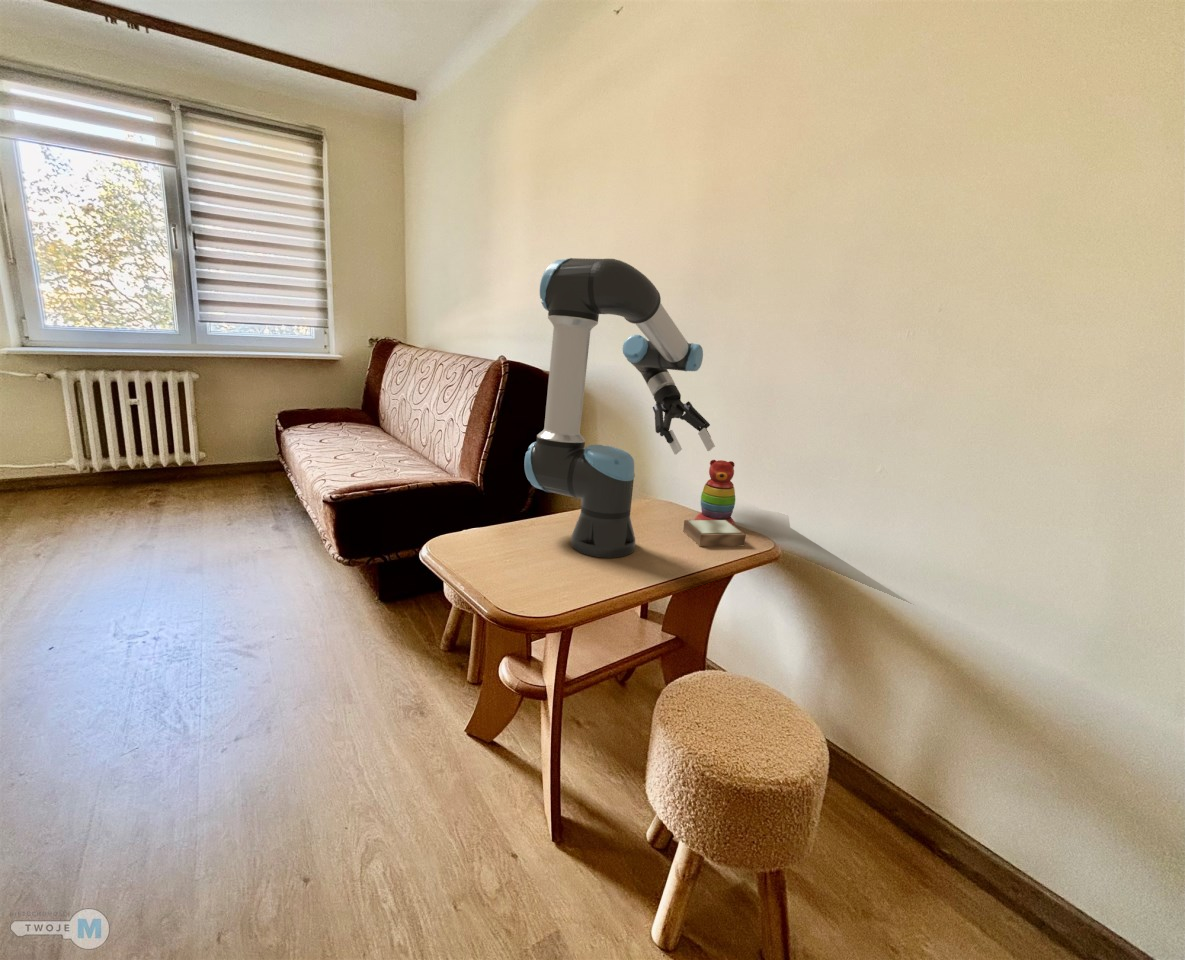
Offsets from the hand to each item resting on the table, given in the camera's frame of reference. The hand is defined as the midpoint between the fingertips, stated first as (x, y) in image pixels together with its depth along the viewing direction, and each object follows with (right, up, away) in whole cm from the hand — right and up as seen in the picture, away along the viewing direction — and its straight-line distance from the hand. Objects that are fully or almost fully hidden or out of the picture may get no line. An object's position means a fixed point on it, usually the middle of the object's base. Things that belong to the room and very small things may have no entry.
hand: (695, 450), depth 157 cm
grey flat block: (+1, -23, -16) cm, 29 cm away
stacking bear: (+5, -21, -3) cm, 21 cm away
